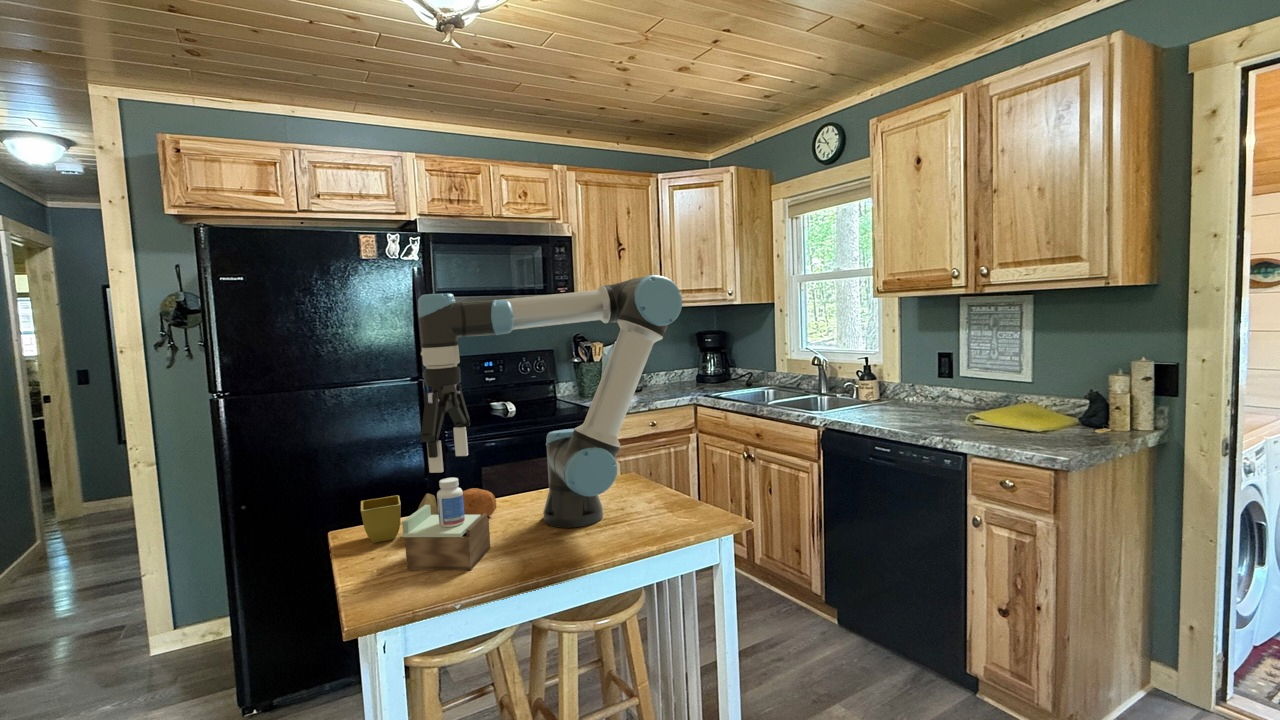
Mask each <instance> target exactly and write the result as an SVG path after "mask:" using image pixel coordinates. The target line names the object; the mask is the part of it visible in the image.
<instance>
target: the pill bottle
mask: <svg viewBox="0 0 1280 720" xmlns="http://www.w3.org/2000/svg"><path fill="white" fill-rule="evenodd" d="M438 483H439V485H438V486H439V488H440V489H439V490H438V491H437V493H436V504H437V508H438V515H439V524H440V526H442V527H454V526H458V525H461V524H463V523H464V521H465V516H464V503H463V491H464V490H463V489H462V488H461V487H459V484H460V483H459V477H446V478H442V479H440V480H439V481H438Z"/></svg>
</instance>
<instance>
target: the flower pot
mask: <svg viewBox="0 0 1280 720" xmlns="http://www.w3.org/2000/svg"><path fill="white" fill-rule="evenodd" d="M400 499H401V498H400V495H398V494H397V495H396V494H395V495H391V496H385V497H380V498H379V497H378V498H371V499H366V500H361V501H360V513H361V518H362V519H361V520H362V523H363V528H364V531H365V533H366V536H367V538H368V539H369V540H370V541H371V542H372V543H373V544H376V543H379V542H386V541H391V540H395V539H396V538H397V536H398V534H399V530H400V528H401V509H402V508H401V500H400Z"/></svg>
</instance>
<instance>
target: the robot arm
mask: <svg viewBox="0 0 1280 720" xmlns="http://www.w3.org/2000/svg"><path fill="white" fill-rule="evenodd" d="M682 308H683V297H682V293H681V292H680V289H679V287H678V286H677V284H676V283H675V282H674V281H673V280H671V279H670V278H669V277H666V276H663V275H657V274H656V275H655V274H650V275H646V276H644V277H643V276H642V277H635V278H634V277H633V278H629V279H628V280H624V281H622V282H621V281H620V282H617V283H612V284H605V285H600V286H599V287H598V288H597V289H595V290H594V289H593V290H586V291H575V292H566V293H565V292H564V293H555V294H553V293H552V294H546V295H545V294H544V295H534V296H526V297H525V296H524V297H516V298H515V297H514V298H513V297H512V298H505V299H503V298H502V299H493V300H491V299H490V300H479V301H478V300H476V301H463V302H462V301H456V299H455V296H454V294H453V293H448V292H447V293H429V294H422V295H420V296H419V297H418V300H417V309H418V310H417V311H418V312H417V313H418V326H419V335H420V343H421V344H420V345H421V346H420V347H421V352H420V356H421V357H422V364H423V365H422V366H424V367H426V368H424V370H423V381H424V385H425V386H426V387H430V388H431V392H426V393H424V395H423V396H424V407H423V413H422V415H423V416H422V422H421V431H420V432H421V433H420V441H421V443H426V446H427V447H426V448H427V458H428V459H427V460H428V468H429V469H428V471H429V473H431V474H432V473H433V474H434V473H436V474H437V473H443V472H444V460H443V450H442V449H443V448H442V440H439V438H440V436H441V435H440V434H441V432H442V431H441V429H442V427H443V422H444V417H445V414H447V413H448V414H449V417H450V419H451V420H452V422H453V424H454V427H453V439H454V440H453V442H454V452H455V457H467V456H468V455H469V446H468V437H467V436H468V435H467V427H470V426H471V419H470V414H469V412H468V408H467V405H466V402H465V398H464V394H463V390H462V384H460V383H461V382H462V377H461V376H462V375H461V367H460V365H458V364H460V362H461V359H460V352H459V351H460V350H459V349H460V348H459V342H458V340H459V338H466V337H479V336H480V337H481V336H482V337H484V336H495V335H496V336H500V335H505V334H506V335H507V334H510V333H511V332H512V331H514V330H520V329H521V330H523V329H530V328H539V327H548V326H557V325H565V324H574V323H575V324H576V323H584V322H592V321H594V322H595V321H601V322H602V323H604V324H610V323H617V324H618V326H619V328H620V329H619V333H618V335H617V339H616V340H615V343H614V346H613V349H612V351H611V353H610V356H609V357H608V360H607V363H606V366H605V368H604V371H603V374H602V375H601V378H600V381H599V383H598V386H597V388H596V391H595V393H594V396H593V398H592V401H591V404H590V406H589V409H588V410H587V414H586V416H585V419H584V422H583V423H582V424H580V425H579V426H578V425H577V427H575V428H568V429H566V428H565V429H559V430H553V431H549V432H548V433H547V435H546V442H545V446H546V457H547V459H546V461H547V474H548V493H547V497H546V501H545V505H544V509H543V521H544V523H545V524H546V525H548V526H550V527H555V528H561V529H562V528H563V529H565V528H567V529H569V528H570V529H572V528H579V527H580V528H581V527H586V526H589V525H593V524H596V523H597V522H599V521H601V520H602V518H603V517H604V512H603V510H604V508H603V505H602V503H601V500H600V499H601V498H600V497H599V495H601V494H604V493H606V492H607V491H608V490H609V489H610V488H611V486H613V484H614V482H615V480H617V479H616V478H617V475H618V464H617V460H616V458H617V456H618V453H619V451H620V448H621V443H620V441H619V439H618V437H619V436H618V435H619V434H620V431H621V429H622V425H623V423H624V420H625V418H626V415H627V413H628V410H629V407H630V404H631V403H632V401H633V397H634V395H635V392H636V390H637V387H638V385H639V383H640V379H641V377H642V375H643V372H644V369H645V367H646V364H647V362H648V359H649V356H650V354H651V352H652V349H653V348H654V347H653V346H654V344H655V343H657V342H658V341H661V340H663V338H664V335H665V333H666V330H667V329H668V325H670V324H672V323H673V322H674V321H676V320H677V319H678V317H679V315H680V314H681V312H682Z"/></svg>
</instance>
